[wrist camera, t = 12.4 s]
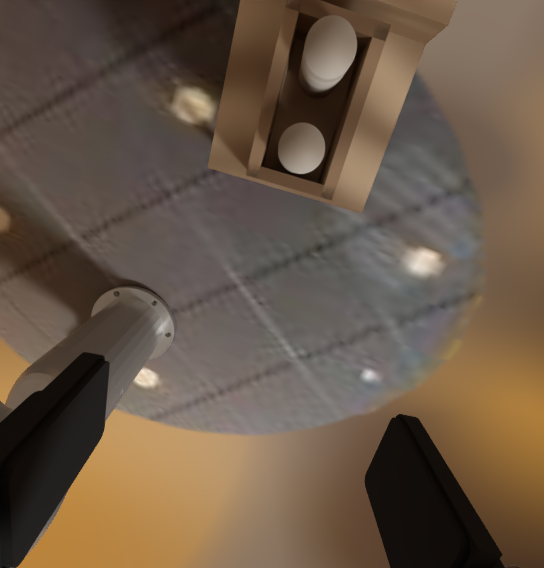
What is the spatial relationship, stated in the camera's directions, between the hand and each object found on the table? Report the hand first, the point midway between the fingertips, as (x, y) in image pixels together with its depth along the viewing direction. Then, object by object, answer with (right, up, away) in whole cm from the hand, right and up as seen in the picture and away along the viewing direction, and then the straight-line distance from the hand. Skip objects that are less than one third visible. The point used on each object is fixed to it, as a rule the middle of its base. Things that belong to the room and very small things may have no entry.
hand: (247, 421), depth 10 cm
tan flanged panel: (+4, +24, +28) cm, 37 cm away
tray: (+3, +17, +13) cm, 22 cm away
